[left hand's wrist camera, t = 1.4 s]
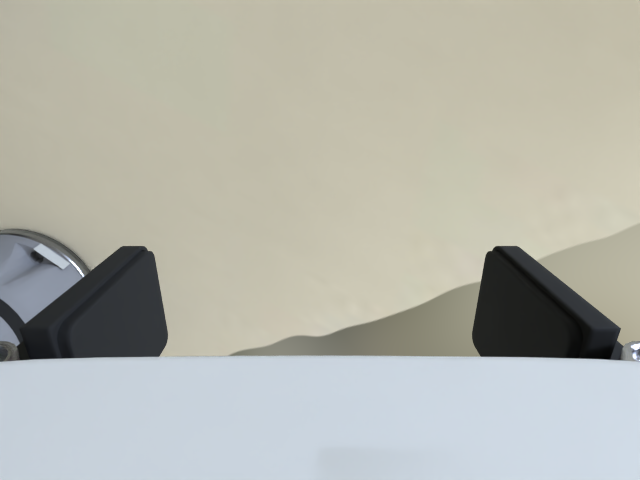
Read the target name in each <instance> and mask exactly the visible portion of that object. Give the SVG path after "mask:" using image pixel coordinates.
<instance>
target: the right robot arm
mask: <svg viewBox="0 0 640 480" xmlns="http://www.w3.org/2000/svg"><path fill="white" fill-rule="evenodd" d="M89 272H90V271H89V269H88V268H87V267H86V265H85V264H84V263H83V262H82V261H81V259H80V258H79V257H78V256H77V255H75V254H74V253H73V252H72V251H71V250H69V249H68V248H67V247H65V246H64V245H62V244H61V243H59V242H57V241H56V240H54V239H52V238H50V237H47V236H45V235H42V234H39V233H36V232H32V231H27V230H20V229H5V230H0V341H8V342H11V343H13V344H15V345H16V346H17V345H19V344H20V343H21V342H22V341H23V338H22V335H21V333H20V330H19V328H21V327H22V326H23V325H24V324H26V323H27V322H28V321H29V320H31V319H32V318H33V317H34V316H36V315H37V314H38V313H39V312H41V311H42V310H43V309H44V308H46V307H47V306H48V305H49V304H51V303H52V302H53V301H54V300H56V299H57V298H58V297H59V296H61V295H62V294H63V293H64V292H66V291H67V290H68V289H69V288H71V287H72V286H73V285H74V284H76V283H77V282H78V281H79V280H81V279H82V278H83V277H84V276H86V275H87V274H88V273H89Z"/></svg>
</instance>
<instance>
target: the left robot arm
mask: <svg viewBox="0 0 640 480" xmlns="http://www.w3.org/2000/svg"><path fill="white" fill-rule="evenodd" d="M620 329H621V328H619V327H618V326H617V325H616V324H614V323H613V322H612V321H611V320H609V319H608V318H607V317H606V316H604V315H603V314H602V313H601V312H599V311H598V310H597V309H596V308H594V307H593V306H592V305H591V304H589V303H588V302H587V301H586V300H584V299H583V298H582V297H581V296H579V295H578V294H577V293H576V292H574V291H573V290H572V289H571V288H569V287H568V286H567V285H566V284H564V283H563V282H562V281H561V280H559V279H558V278H557V277H556V276H554V275H553V274H552V273H551V272H549V271H548V270H547V269H546V268H544V267H543V266H542V265H541V264H539V263H538V262H537V261H536V260H534V259H533V258H532V257H531V256H529V255H528V254H527V253H526V252H524V251H523V250H522V249H521V248H520V247H518V246H496V247H494V248H493V250H492V251H489V252H488V253H487V254H486V257H485V262H484V268H483V274H482V280H481V285H480V291H479V297H478V303H477V308H476V314H475V320H474V326H473V331H472V339H473V343H474V346H475V348H476V349H477V351H478V353H479V354H480V356H481V357H444V356H443V357H442V356H190V357H159V356H160V354H161V353H162V351H163V349H164V348H165V346H166V343H167V339H168V331H167V326H166V320H165V314H164V308H163V303H162V297H161V291H160V285H159V280H158V274H157V268H156V262H155V257H154V254H153V253H152V252H151V251H148V250H147V248H146V247H144V246H122V247H120V248H119V249H118V250H117V251H116V252H114V253H113V254H112V255H111V256H109V257H108V258H107V259H106V260H104V261H103V262H102V263H101V264H99V265H98V266H97V267H96V268H94V269H93V270H92V271H91V272H89V273H88V274H87V275H86V276H84V277H83V278H82V279H81V280H79V281H78V282H77V283H76V284H74V285H73V286H72V287H71V288H69V289H68V290H67V291H66V292H64V293H63V294H62V295H61V296H59V297H58V298H57V299H56V300H54V301H53V302H52V303H51V304H49V305H48V306H47V307H46V308H44V309H43V310H42V311H41V312H39V313H38V314H37V315H36V316H34V317H33V318H32V319H31V320H29V321H28V322H27V323H26V324H24V325H23V326H22V327H21V328H19V330H20V333H21V335H22V338H23V341H22V342H21V343H20V344H19V345H17V346H16V345H15V344H13V343H11V342H8V341H0V480H640V341H632V342H629V343H627V344H625V345H624V346H622V345H621V344H620V343H619V342H618V341H617V338H618V335H619V333H620Z"/></svg>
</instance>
